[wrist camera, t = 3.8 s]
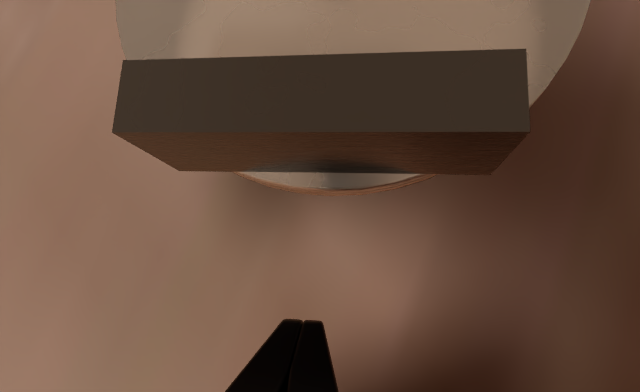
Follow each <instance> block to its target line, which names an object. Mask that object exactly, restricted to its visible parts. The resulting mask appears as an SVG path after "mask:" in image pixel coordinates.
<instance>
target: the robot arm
mask: <svg viewBox="0 0 640 392" xmlns="http://www.w3.org/2000/svg"><path fill="white" fill-rule="evenodd" d="M225 392H338V387H337V383H336V378H335V374H334V369H333V365H332V361H331V356H330V352H329V347H328V343H327V338H326V334H325V330H324V325H323V323H322V321H316V320H305V321H304V322H303V321H302V320H298V319H284V320H283V321H282V322H281V323H280V324H279V325H278V327H277V328H276V329H275V330H274V332H273V333H272V334H271V335H270V337H269V338H268V339H267V340H266V341H265V343H264V344H263V345H262V346H261V348H260V349H259V350H258V351H257V353H256V354H255V355H254V356H253V358H252V359H251V360H250V361H249V363H248V364H247V365H246V366H245V368H244V369H243V370H242V371H241V372H240V374H239V375H238V376H237V377H236V379H235V380H234V381H233V382H232V384H231V385H230V386H229V387H228V389H227V390H226V391H225Z"/></svg>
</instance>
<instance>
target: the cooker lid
mask: <svg viewBox="0 0 640 392" xmlns="http://www.w3.org/2000/svg"><path fill="white" fill-rule="evenodd" d="M590 1H591V0H116V19H117V25H118V30H119V36H120V41H121V46H122V49H123V51H124V54H125V57H126V60H123V64H122V71H121V77H120V84H119V90H118V97H117V103H116V110H115V116H114V123H113V129H112V133H114V134H116V135H117V136H119V137H121V138H123V139H124V140H126V141H128V142H130V143H131V144H133V145H135V146H137V147H138V148H140V149H142V150H144V151H145V152H147V153H149V154H151V155H152V156H154V157H156V158H158V159H159V160H161V161H163V162H165V163H166V164H168V165H170V166H172V167H173V168H175V169H177V170H179V171H223V172H234V173H236V174H237V175H239V176H241V177H244V178H246V179H249V180H252V181H255V182H257V183H260V184H263V185H265V186H268V187H272V188H277V189H281V190H286V191H290V192H295V193H300V194H312V195H323V196H344V195H364V194H370V193H375V192H381V191H387V190H393V189H397V188H400V187H404V186H407V185H410V184H413V183H417V182H420V181H423V180H426V179H429V178H431V177H433V176H436V175H438V174H464V175H491V174H492V172H493V171H494V170H495V169H496V168H497V167H498V166H499V165H500V164H501V163H502V162H503V161H504V160H505V158H506V157H507V156H508V155H509V154H510V153H511V152H512V151H513V150H514V149H515V148H516V147H517V145H518V144H519V143H520V142H521V141H522V140H523V139H524V138H525V137H526V136H527V135H528V134H529V133H530V116H529V108H530V107H531V106H532V105H533V104H534V102H535V101H536V100H537V99H538V97H539V96H540V95H541V94H542V92H543V91H544V90H545V89H546V88H547V86H548V85H549V83H550V82H551V80H552V79H553V78H554V76H555V75H556V73H557V72H558V70H559V69H560V68H561V66H562V65H563V63H564V62H565V61H566V59H567V57H568V55H569V53H570V51H571V49H572V47H573V45H574V43H575V41H576V39H577V37H578V35H579V33H580V31H581V29H582V26H583V23H584V20H585V17H586V14H587V11H588V8H589V5H590Z"/></svg>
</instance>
